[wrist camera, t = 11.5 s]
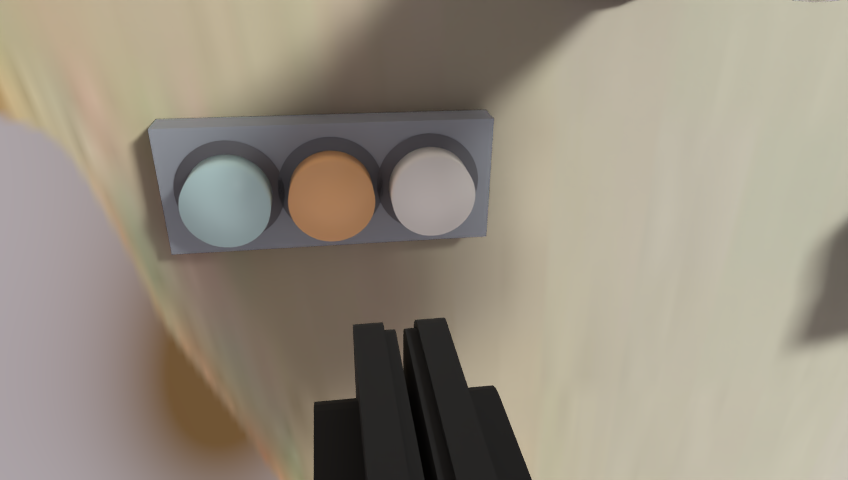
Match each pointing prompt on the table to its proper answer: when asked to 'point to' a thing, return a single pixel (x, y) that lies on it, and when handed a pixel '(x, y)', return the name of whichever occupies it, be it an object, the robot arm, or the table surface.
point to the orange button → (331, 196)
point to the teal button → (226, 201)
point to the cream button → (431, 191)
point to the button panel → (308, 134)
